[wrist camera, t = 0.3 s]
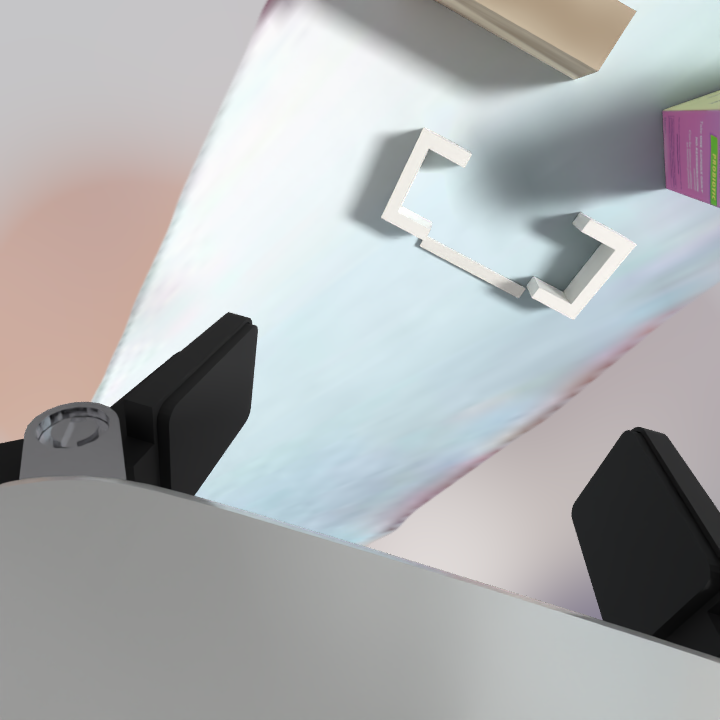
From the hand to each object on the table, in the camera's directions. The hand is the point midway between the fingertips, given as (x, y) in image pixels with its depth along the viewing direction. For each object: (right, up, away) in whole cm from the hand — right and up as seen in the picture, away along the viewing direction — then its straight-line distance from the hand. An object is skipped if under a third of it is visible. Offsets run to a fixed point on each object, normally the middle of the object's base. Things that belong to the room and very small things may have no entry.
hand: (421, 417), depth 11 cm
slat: (+8, +26, +18) cm, 32 cm away
